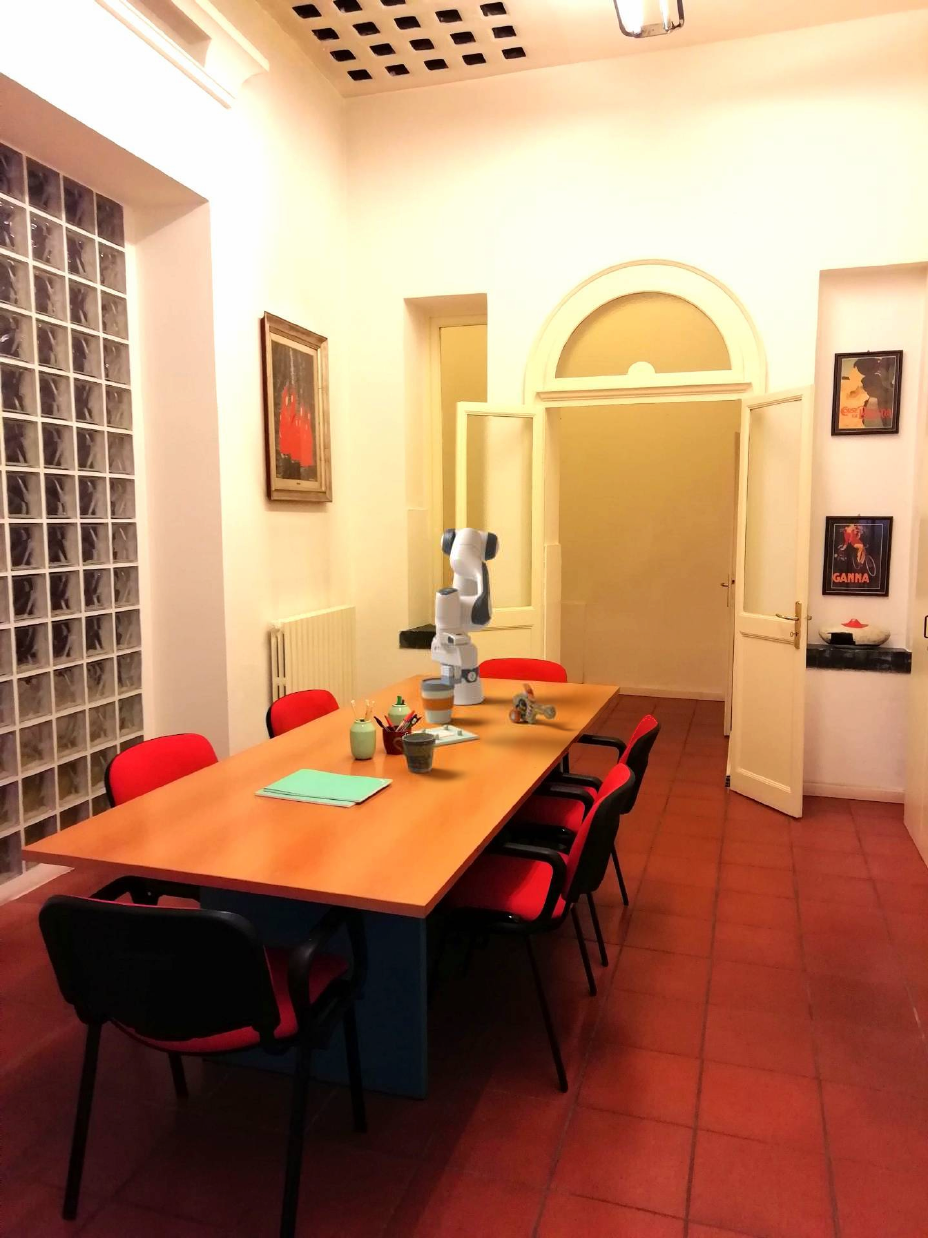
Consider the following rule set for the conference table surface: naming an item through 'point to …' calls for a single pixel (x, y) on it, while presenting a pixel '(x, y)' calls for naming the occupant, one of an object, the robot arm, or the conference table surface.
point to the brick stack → (449, 675)
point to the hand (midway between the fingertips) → (451, 677)
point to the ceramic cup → (418, 751)
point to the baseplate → (448, 735)
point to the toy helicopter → (529, 707)
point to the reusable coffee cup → (437, 700)
